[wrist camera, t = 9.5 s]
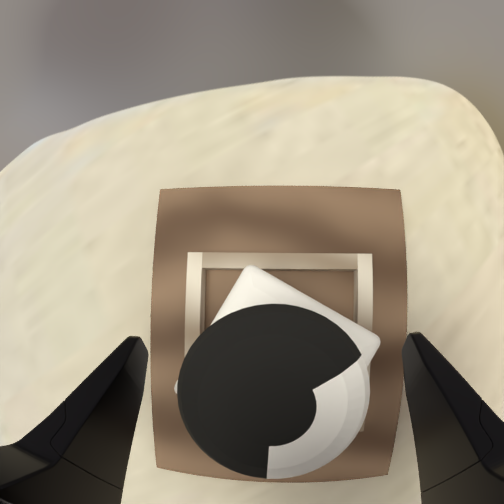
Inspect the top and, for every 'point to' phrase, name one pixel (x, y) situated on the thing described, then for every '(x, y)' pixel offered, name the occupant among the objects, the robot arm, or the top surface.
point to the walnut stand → (292, 273)
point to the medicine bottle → (275, 380)
